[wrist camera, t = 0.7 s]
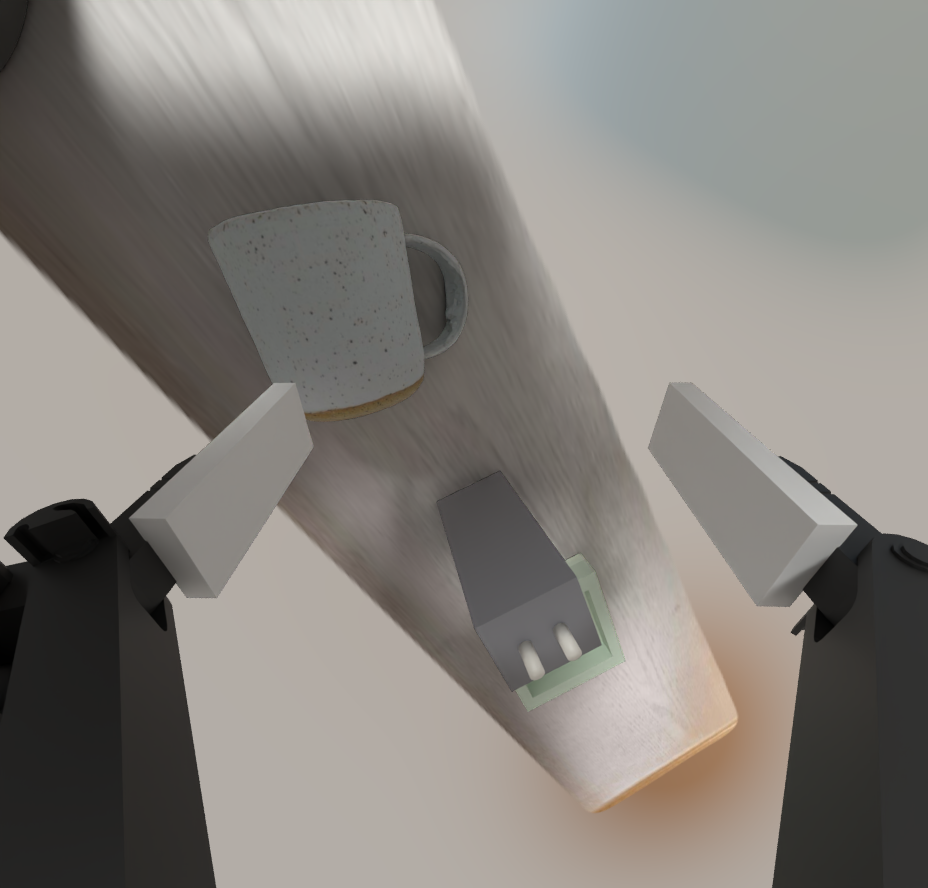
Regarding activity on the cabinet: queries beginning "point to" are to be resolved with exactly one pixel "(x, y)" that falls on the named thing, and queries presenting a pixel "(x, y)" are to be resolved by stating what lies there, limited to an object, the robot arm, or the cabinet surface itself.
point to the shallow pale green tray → (589, 662)
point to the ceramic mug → (336, 301)
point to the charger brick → (515, 583)
